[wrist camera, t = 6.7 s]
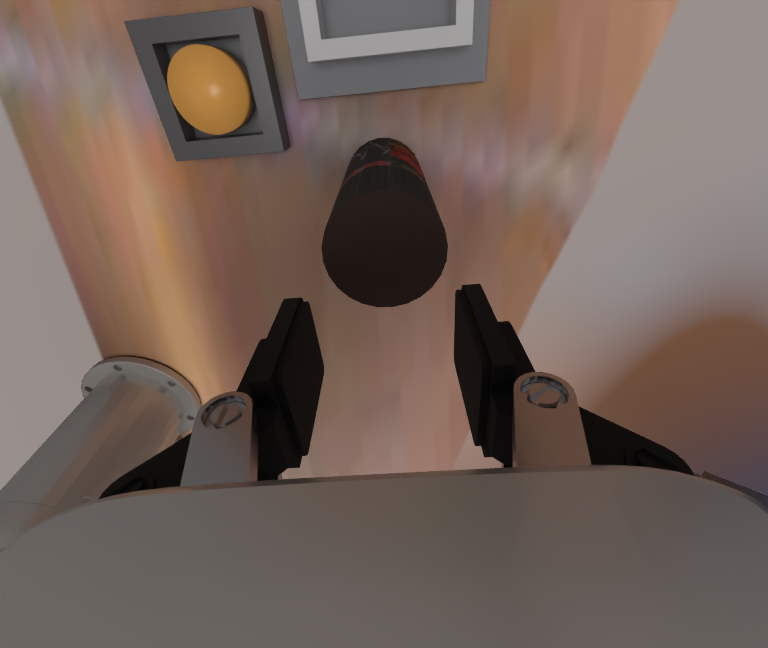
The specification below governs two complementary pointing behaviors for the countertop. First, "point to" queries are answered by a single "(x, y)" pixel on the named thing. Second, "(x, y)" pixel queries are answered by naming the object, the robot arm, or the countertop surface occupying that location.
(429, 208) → the deodorant
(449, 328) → the countertop surface
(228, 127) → the button
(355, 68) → the grey rectangular tray
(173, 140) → the button housing
